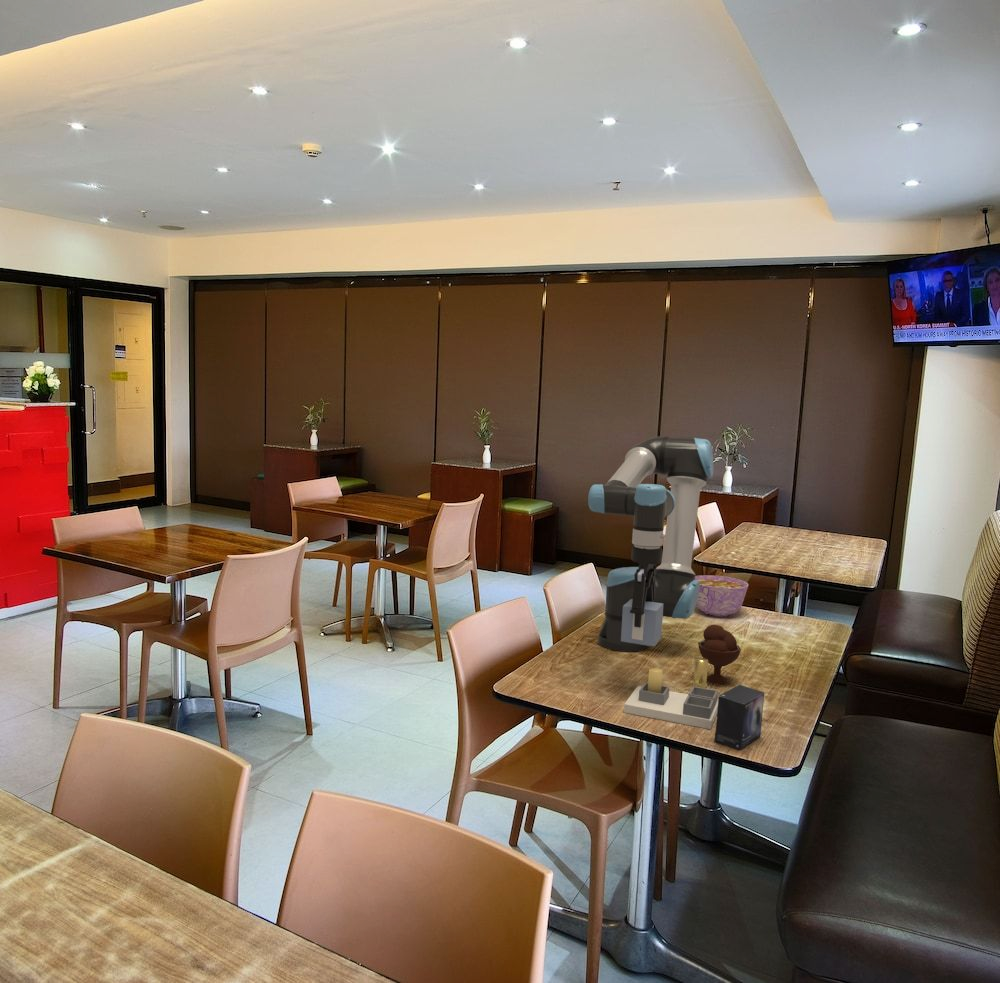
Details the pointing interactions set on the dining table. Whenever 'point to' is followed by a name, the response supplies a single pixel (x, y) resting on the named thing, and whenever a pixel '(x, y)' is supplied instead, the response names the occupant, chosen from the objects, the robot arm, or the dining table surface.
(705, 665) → the brass pin
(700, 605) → the bowl of food
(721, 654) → the ice cream bowl
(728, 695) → the small box
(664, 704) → the pin board
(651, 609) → the cover
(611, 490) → the robot arm
